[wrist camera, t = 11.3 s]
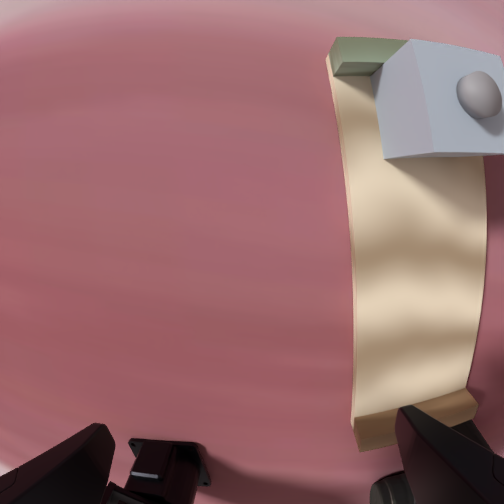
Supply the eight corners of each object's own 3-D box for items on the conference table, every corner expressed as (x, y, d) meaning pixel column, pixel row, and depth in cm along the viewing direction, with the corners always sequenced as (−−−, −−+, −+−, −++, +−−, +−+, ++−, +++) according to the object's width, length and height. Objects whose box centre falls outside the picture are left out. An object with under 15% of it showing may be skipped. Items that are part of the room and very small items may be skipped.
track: (456, 394, 21) (474, 417, 18) (350, 422, 22) (359, 452, 18) (458, 67, 15) (485, 54, 12) (325, 59, 16) (336, 36, 13)
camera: (380, 433, 22) (412, 523, 12) (478, 405, 21) (526, 471, 12) (360, 507, 25) (374, 574, 15) (441, 485, 24) (466, 542, 15)
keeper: (458, 157, 16) (533, 154, 9) (383, 159, 16) (446, 150, 10) (445, 81, 15) (511, 51, 8) (369, 77, 15) (420, 30, 9)
